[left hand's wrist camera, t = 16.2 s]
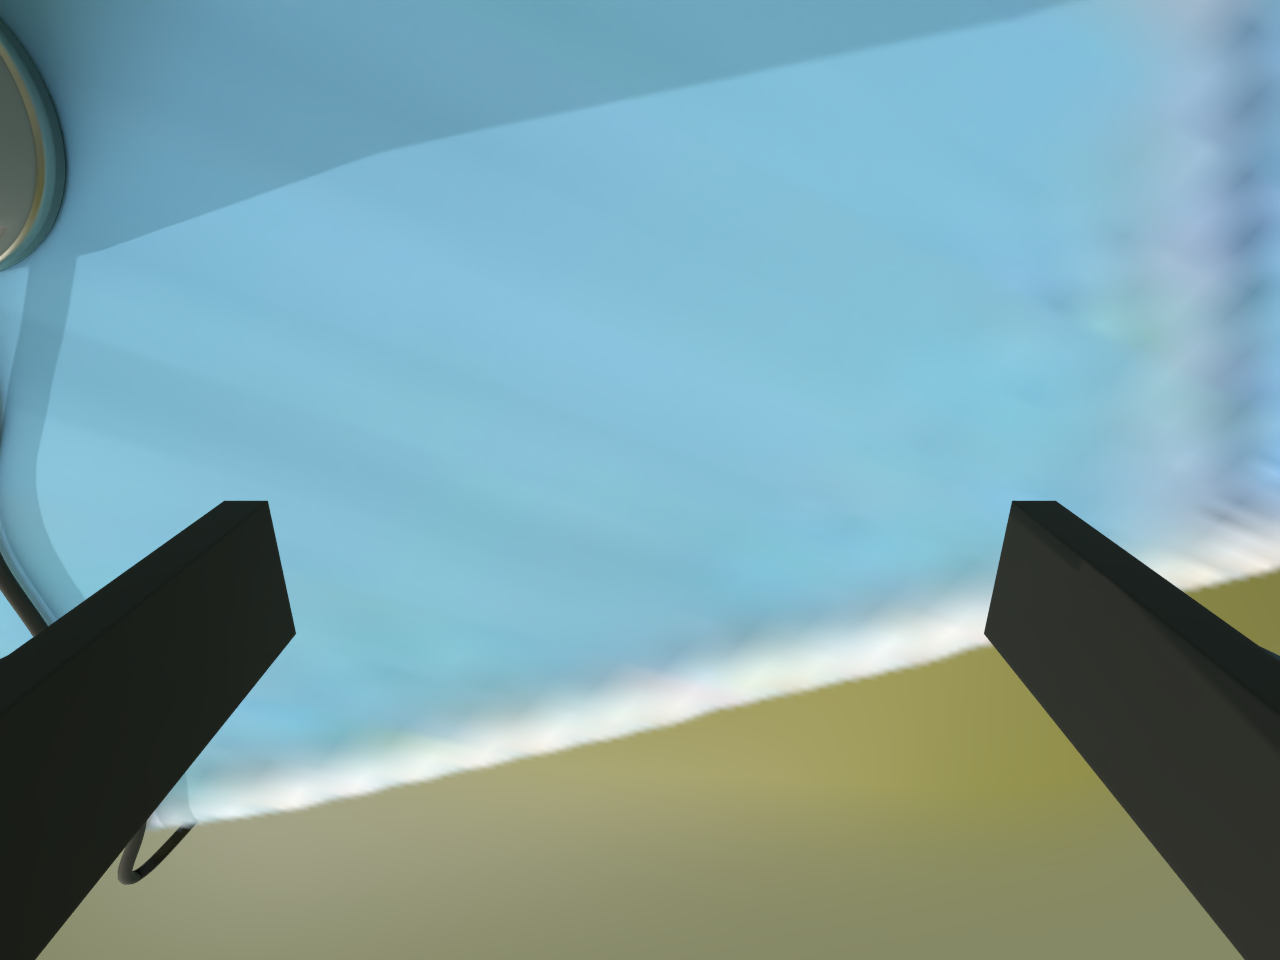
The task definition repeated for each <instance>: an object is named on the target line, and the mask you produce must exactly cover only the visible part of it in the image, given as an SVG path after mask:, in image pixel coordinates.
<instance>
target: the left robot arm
mask: <svg viewBox="0 0 1280 960" xmlns="http://www.w3.org/2000/svg"><path fill="white" fill-rule="evenodd" d="M64 183H65V156H64V147H63V141H62V135H61V130H60V127H59V123H58V119H57V115H56V112H55V110H54V107H53V104H52V101H51V99H50V96H49V94H48V92H47V89H46V87H45V85H44V83H43V81H42V79H41V77H40V75H39V73H38V71H37V69H36V67H35V66H34V64H33V63H32V61H31V59H30V58H29V56H28V55H27V53H26V51H25V50H24V49H23V47H22V46H21V44H20V43H19V42H18V40H17V39H16V37H15V36H14V35H13V34H12V32H11V31H10V30H9V29H8V28H7V26H6V25H5V24H4V23H3V22H2V20H1V19H0V271H1V270H4V269H7V268H9V267H11V266H13V265H15V264H17V263H18V262H20V261H21V260H23V259H24V258H26V257H27V256H28V255H29V254H31V253H32V252H33V251H34V250H35V249H36V248H37V247H38V246H39V245H40V244H41V242H42V241H43V240H44V238H45V237H46V236H47V234H48V233H49V231H50V229H51V227H52V225H53V223H54V221H55V220H56V217H57V214H58V211H59V209H60V205H61V201H62V197H63V191H64ZM0 590H1V591H2V593H3V594H4V596H5V597H6V599H7V600H8V601H9V603H10V604H11V606H12V607H13V608H14V610H15V611H16V613H17V614H18V615H19V617H20V618H21V620H22V621H23V622H24V624H25V625H26V627H27V628H28V630H29V631H30V632H31V634H32V635H33V638H32V639H30V640H29V641H28V642H26V643H25V644H23V645H22V646H21V647H19V648H18V649H16V650H15V651H14V652H12V653H11V654H9V655H8V656H6V657H4V658H1V659H0V960H35V959H36V958H37V957H38V955H39V954H40V953H41V952H42V950H43V949H44V948H45V947H46V945H47V944H48V943H49V942H50V940H51V939H52V938H53V937H54V935H55V934H56V933H57V932H58V930H59V929H60V928H61V927H62V925H63V924H64V923H65V922H66V920H67V919H68V918H69V917H70V915H71V914H72V913H73V912H74V910H75V909H76V908H77V907H78V905H79V904H80V903H81V902H82V900H83V899H84V898H85V897H86V895H87V894H88V893H89V892H90V890H91V889H92V888H93V887H94V885H95V884H96V883H97V882H98V881H99V879H100V878H101V877H102V876H103V874H104V873H105V872H106V871H107V869H108V868H109V867H110V865H111V864H112V863H113V862H114V861H115V859H116V858H117V857H118V855H119V854H120V853H121V852H122V851H123V849H124V848H125V850H124V853H123V855H122V858H121V861H120V864H119V868H118V880H119V881H120V882H121V883H122V884H125V885H126V884H134V883H136V882H138V881H140V880H141V879H143V878H144V877H145V876H147V875H148V874H149V873H150V872H151V871H153V870H154V869H155V868H156V867H157V866H158V865H159V864H160V863H161V862H162V861H163V860H164V859H165V858H166V857H167V856H168V855H169V854H170V852H171V851H172V850H173V849H174V848H175V847H176V846H177V845H178V844H179V843H180V842H181V840H182V839H183V838H184V837H185V836H186V835H187V834H188V833H189V832H190V830H191V829H192V828H193V827H194V826H195V825H196V824H197V823H196V824H188V825H184V826H180V827H179V828H178V829H177V830H176V831H175V832H174V834H173V835H172V836H171V837H170V838H169V839H168V840H167V841H166V842H165V843H164V844H163V845H162V846H161V847H160V848H159V849H158V850H157V852H155V853H154V855H152V857H150V858H149V859H148V860H147V861H146V862H145V863H144V864H143V865H142V866H140V867H139V868H138V869H136V870H134V871H132V869H133V865H134V862H135V859H136V857H137V854H138V851H139V849H140V846H141V843H142V840H143V836H144V832H145V828H146V821H147V819H148V818H149V817H150V816H151V814H152V813H153V812H154V811H155V809H156V808H157V807H158V806H159V804H160V803H161V802H162V801H163V799H164V798H165V797H166V796H167V794H168V793H169V792H170V791H171V789H172V788H173V787H174V786H175V784H176V783H177V782H178V781H179V779H180V778H181V777H182V776H183V774H184V773H185V772H186V771H187V769H188V768H189V767H190V766H191V764H192V763H193V762H194V761H195V759H196V758H197V757H198V756H199V754H200V753H201V752H202V751H203V749H204V748H205V747H206V746H207V744H208V743H209V742H210V741H211V739H212V738H213V737H214V736H215V734H216V733H217V732H218V731H219V729H220V728H221V727H222V726H223V724H224V723H225V722H226V721H227V719H228V718H229V717H230V716H231V714H232V713H233V712H234V711H235V709H236V708H237V707H238V706H239V704H240V703H241V702H242V701H243V699H244V698H245V697H246V696H247V694H248V693H249V692H250V691H251V689H252V688H253V687H254V686H255V684H256V683H257V682H258V681H259V679H260V678H261V677H262V676H263V674H264V673H265V672H266V671H267V669H268V668H269V667H270V666H271V664H272V663H273V662H274V661H275V659H276V658H277V657H278V656H279V654H280V653H281V652H282V651H283V649H284V648H285V647H286V646H287V644H288V643H289V642H290V641H291V639H292V638H293V637H294V636H295V634H296V631H295V627H294V622H293V617H292V613H291V608H290V603H289V599H288V594H287V589H286V584H285V580H284V575H283V570H282V566H281V561H280V556H279V551H278V547H277V542H276V537H275V533H274V528H273V523H272V518H271V514H270V509H269V504H268V501H223V502H222V503H221V504H219V505H218V506H216V507H215V508H214V509H212V510H211V511H209V512H208V513H207V514H205V515H204V516H202V517H201V518H200V519H198V520H197V521H195V522H194V523H193V524H191V525H190V526H188V527H187V528H186V529H184V530H183V531H181V532H180V533H179V534H177V535H176V536H174V537H173V538H172V539H170V540H169V541H167V542H166V543H165V544H163V545H162V546H160V547H159V548H158V549H156V550H155V551H153V552H152V553H151V554H149V555H148V556H146V557H145V558H144V559H142V560H141V561H139V562H138V563H137V564H135V565H134V566H132V567H131V568H130V569H128V570H127V571H125V572H124V573H123V574H121V575H120V576H118V577H117V578H116V579H114V580H113V581H111V582H110V583H109V584H107V585H106V586H105V587H103V588H102V589H100V590H99V591H98V592H96V593H95V594H93V595H92V596H91V597H89V598H88V599H86V600H85V601H84V602H82V603H81V604H79V605H78V606H77V607H75V608H74V609H72V610H71V611H70V612H68V613H67V614H65V615H64V616H63V617H61V618H60V619H58V620H57V621H56V622H54V623H53V624H51V625H50V626H49V627H48V626H47V624H46V623H45V621H44V620H43V618H42V617H41V615H40V614H39V612H38V611H37V609H36V608H35V607H34V605H33V604H32V602H31V601H30V599H29V598H28V597H27V595H26V594H25V592H24V591H23V589H22V588H21V587H20V585H19V584H18V582H17V581H16V579H15V578H14V576H13V574H12V573H11V571H10V570H9V568H8V566H7V564H6V563H5V561H4V559H3V557H2V555H1V553H0ZM984 634H985V636H986V637H987V638H988V639H989V641H990V642H991V643H992V644H993V646H994V647H995V648H996V649H997V651H998V652H999V653H1000V654H1001V656H1002V657H1003V658H1004V659H1005V661H1006V662H1007V663H1008V664H1009V666H1010V667H1011V668H1012V669H1013V671H1014V672H1015V673H1016V674H1017V675H1018V677H1019V678H1020V679H1021V681H1022V682H1023V683H1024V684H1025V686H1026V687H1027V688H1028V689H1029V691H1030V692H1031V693H1032V694H1033V696H1034V697H1035V698H1036V699H1037V701H1038V702H1039V703H1040V704H1041V706H1042V707H1043V708H1044V709H1045V711H1046V712H1047V713H1048V714H1049V716H1050V717H1051V718H1052V719H1053V720H1054V722H1055V723H1056V724H1057V725H1058V727H1059V728H1060V729H1061V731H1062V732H1063V733H1064V734H1065V736H1066V737H1067V738H1068V739H1069V741H1070V742H1071V743H1072V744H1073V745H1074V747H1075V748H1076V749H1077V751H1078V752H1079V753H1080V754H1081V755H1082V757H1083V758H1084V759H1085V761H1086V762H1087V763H1088V764H1089V766H1090V767H1091V768H1092V769H1093V771H1094V772H1095V773H1096V774H1097V776H1098V777H1099V778H1100V779H1101V781H1102V782H1103V783H1104V784H1105V786H1106V787H1107V788H1108V789H1109V791H1110V792H1111V793H1112V794H1113V796H1114V797H1115V798H1116V799H1117V801H1118V802H1119V803H1120V804H1121V805H1122V807H1123V808H1124V809H1125V811H1126V812H1127V813H1128V814H1129V815H1130V817H1131V818H1132V819H1133V821H1134V822H1135V823H1136V824H1137V825H1138V827H1139V828H1140V829H1141V830H1142V832H1143V833H1144V834H1145V836H1146V837H1147V838H1148V839H1149V841H1150V842H1151V843H1152V844H1153V846H1154V847H1155V848H1156V849H1157V851H1158V852H1159V853H1160V854H1161V856H1162V857H1163V858H1164V859H1165V860H1166V862H1167V863H1168V864H1169V865H1170V867H1171V868H1172V869H1173V871H1174V872H1175V873H1176V874H1177V875H1178V877H1179V878H1180V879H1181V881H1182V882H1183V883H1184V884H1185V886H1186V887H1187V888H1188V889H1189V890H1190V892H1191V893H1192V894H1193V895H1194V897H1195V898H1196V899H1197V900H1198V902H1199V903H1200V904H1201V905H1202V907H1203V908H1204V909H1205V910H1206V912H1207V913H1208V914H1209V915H1210V917H1211V918H1212V919H1213V920H1214V922H1215V923H1216V924H1217V925H1218V927H1219V928H1220V929H1221V930H1222V932H1223V933H1224V934H1225V935H1226V937H1227V938H1228V939H1229V940H1230V942H1231V943H1232V944H1233V945H1234V947H1235V948H1236V949H1237V950H1238V952H1239V953H1240V954H1241V955H1242V957H1243V958H1244V959H1245V960H1280V656H1279V655H1277V654H1275V653H1273V652H1270V651H1268V650H1266V649H1264V648H1262V647H1259V646H1258V645H1257V644H1255V643H1254V642H1252V641H1251V640H1250V639H1248V638H1247V637H1245V636H1244V635H1243V634H1241V633H1240V632H1238V631H1237V630H1236V629H1234V628H1233V627H1231V626H1230V625H1229V624H1227V623H1226V622H1224V621H1223V620H1222V619H1220V618H1219V617H1217V616H1216V615H1215V614H1213V613H1212V612H1210V611H1209V610H1208V609H1206V608H1205V607H1203V606H1202V605H1201V604H1199V603H1198V602H1196V601H1195V600H1194V599H1192V598H1191V597H1189V596H1188V595H1187V594H1185V593H1184V592H1182V591H1181V590H1180V589H1178V588H1177V587H1175V586H1174V585H1173V584H1171V583H1170V582H1168V581H1167V580H1166V579H1164V578H1163V577H1162V576H1160V575H1159V574H1157V573H1156V572H1155V571H1153V570H1152V569H1150V568H1149V567H1148V566H1146V565H1145V564H1143V563H1142V562H1141V561H1139V560H1138V559H1136V558H1135V557H1134V556H1132V555H1131V554H1129V553H1128V552H1127V551H1125V550H1124V549H1122V548H1121V547H1120V546H1118V545H1117V544H1115V543H1114V542H1113V541H1111V540H1110V539H1108V538H1107V537H1106V536H1104V535H1103V534H1101V533H1100V532H1099V531H1097V530H1096V529H1094V528H1093V527H1092V526H1090V525H1089V524H1087V523H1086V522H1085V521H1083V520H1082V519H1080V518H1079V517H1078V516H1076V515H1075V514H1073V513H1072V512H1071V511H1069V510H1068V509H1066V508H1065V507H1064V506H1062V505H1061V504H1059V503H1058V502H1057V501H1012V504H1011V509H1010V514H1009V518H1008V523H1007V528H1006V533H1005V537H1004V542H1003V547H1002V551H1001V556H1000V561H999V566H998V570H997V575H996V580H995V584H994V589H993V594H992V599H991V603H990V608H989V613H988V617H987V622H986V627H985V631H984Z"/></svg>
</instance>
